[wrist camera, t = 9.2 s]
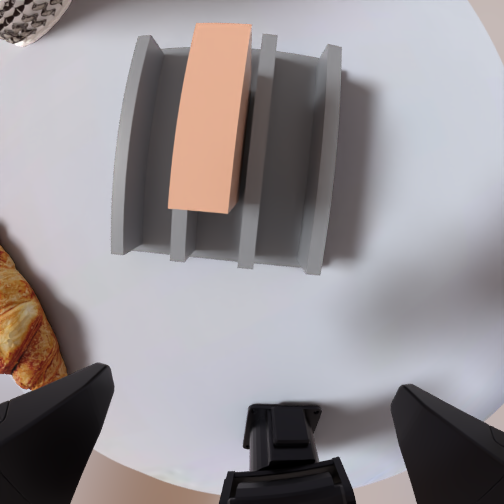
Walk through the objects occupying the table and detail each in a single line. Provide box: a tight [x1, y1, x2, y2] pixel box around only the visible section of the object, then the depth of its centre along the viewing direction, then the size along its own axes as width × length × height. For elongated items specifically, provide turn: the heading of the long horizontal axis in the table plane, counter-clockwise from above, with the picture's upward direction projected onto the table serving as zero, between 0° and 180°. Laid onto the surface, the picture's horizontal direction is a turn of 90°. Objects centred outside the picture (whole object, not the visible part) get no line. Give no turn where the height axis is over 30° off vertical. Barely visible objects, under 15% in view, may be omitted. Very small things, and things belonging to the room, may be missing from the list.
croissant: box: [0, 245, 67, 391], centre depth 17 cm, size 21×10×8 cm, turn 22°
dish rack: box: [111, 34, 342, 275], centre depth 15 cm, size 14×13×4 cm
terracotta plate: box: [168, 23, 252, 214], centre depth 12 cm, size 7×2×8 cm, turn 174°
